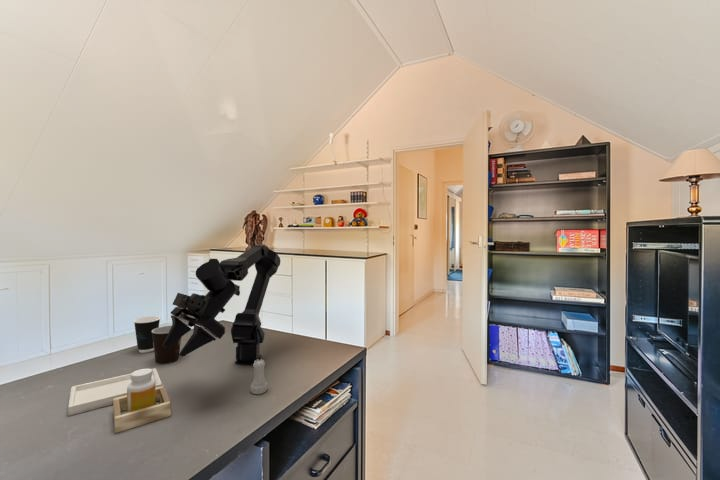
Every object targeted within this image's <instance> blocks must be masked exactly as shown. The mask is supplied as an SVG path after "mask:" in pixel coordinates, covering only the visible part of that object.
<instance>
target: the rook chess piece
mask: <svg viewBox="0 0 720 480" xmlns="http://www.w3.org/2000/svg"><path fill="white" fill-rule="evenodd" d="M265 366H266V362H265V359H262V358H260V359H258V360H257V361H256V360H255V361H254V364H252V367H253V368H254V370H253V372H254V374H253V381H251V383H250V389H249V391H250V393H251V394H253V395H262V394H264V393H265V392H266V391H267V390H268V382H267V380H266V379H265Z"/></svg>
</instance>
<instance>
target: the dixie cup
mask: <svg viewBox="0 0 720 480" xmlns="http://www.w3.org/2000/svg"><path fill="white" fill-rule="evenodd" d="M160 320H161V316H159V315H149V316H141V317H138V318H135V319H133V321H132V322H133V323H134V330H135V339H136V347H137V350H138V352H139V353H143V354H144V353H145V354H146V353H149V352H153V351H154V346H153V338H152V330H153V329H156V328H159V327H160V323H161V322H160Z"/></svg>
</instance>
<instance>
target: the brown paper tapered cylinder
mask: <svg viewBox="0 0 720 480" xmlns="http://www.w3.org/2000/svg"><path fill="white" fill-rule="evenodd" d="M171 327H172V324H171V325H163V326H159V328H156V329H153V330H152V338H153V346H154V350H153V351H154V360H155V363H156V364H158V365H165V364H166V365H167V364H172V363H174V362H176V361H178V360H179V359H180V355H179V353H180V352H181V345H182V344H181V343H182V337H183V336H182V337H181V338H179V339H178V340H176V341H175V342H174V343H172V344H171V345H170V346H168V347H166V348H165V347H164V346H163V343H164V341H165V339H166V337H167V335H168V333H169V331H170V329H171Z"/></svg>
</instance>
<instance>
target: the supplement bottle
mask: <svg viewBox="0 0 720 480" xmlns="http://www.w3.org/2000/svg"><path fill="white" fill-rule="evenodd" d="M151 369H152V368H141V369H136V370H134V371H133V372H131V373H130V374H131V381H132V382H130V383H129V384H128V386H127V410H126V413H129V412H133V411H137V410H140V409H144V408H147V407H151V406H154V405H157V404H156V402H157V401H156V400H155V389H156V382H155V379H154V378H151V377H152V370H151ZM155 401H156V402H155Z"/></svg>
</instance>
